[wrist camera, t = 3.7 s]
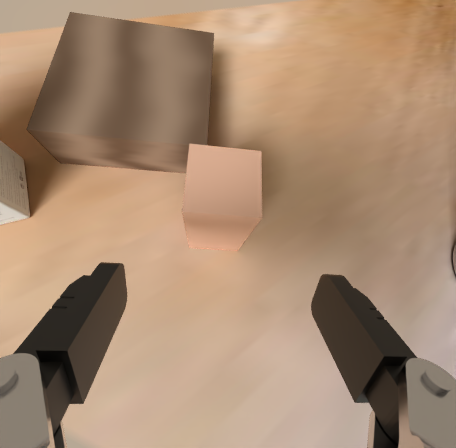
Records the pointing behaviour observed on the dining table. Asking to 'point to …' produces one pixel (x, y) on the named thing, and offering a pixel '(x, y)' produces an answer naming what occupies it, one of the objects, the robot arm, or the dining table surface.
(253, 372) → the dining table surface
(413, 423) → the robot arm
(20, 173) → the small box
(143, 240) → the dining table surface
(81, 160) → the walnut block
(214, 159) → the terracotta block
